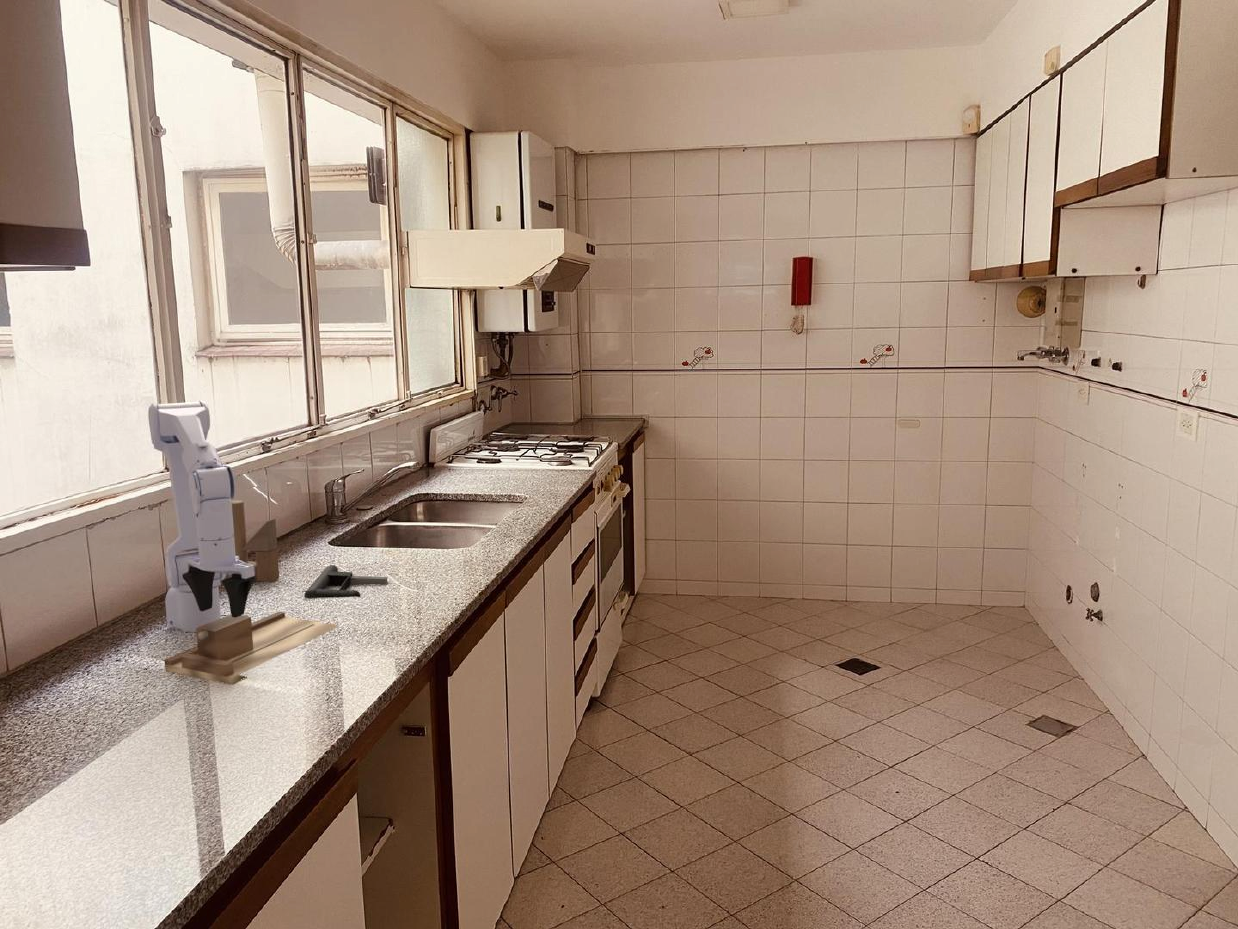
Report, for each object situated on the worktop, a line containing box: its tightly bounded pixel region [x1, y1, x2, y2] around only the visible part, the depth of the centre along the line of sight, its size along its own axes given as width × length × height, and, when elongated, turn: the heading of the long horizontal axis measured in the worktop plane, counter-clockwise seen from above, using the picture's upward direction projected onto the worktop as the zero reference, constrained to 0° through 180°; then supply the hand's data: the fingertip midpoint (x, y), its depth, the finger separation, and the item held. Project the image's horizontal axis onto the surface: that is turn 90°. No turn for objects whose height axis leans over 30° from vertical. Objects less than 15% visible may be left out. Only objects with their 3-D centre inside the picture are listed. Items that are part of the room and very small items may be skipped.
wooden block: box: [227, 499, 280, 583], centre depth 208 cm, size 4×11×18 cm, turn 79°
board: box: [164, 611, 340, 685], centre depth 166 cm, size 15×27×3 cm, turn 157°
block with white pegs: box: [195, 614, 253, 661], centre depth 160 cm, size 4×10×6 cm, turn 156°
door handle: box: [303, 564, 388, 599], centre depth 202 cm, size 3×20×16 cm
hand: (221, 612), depth 159 cm, fingers open, 7 cm apart
